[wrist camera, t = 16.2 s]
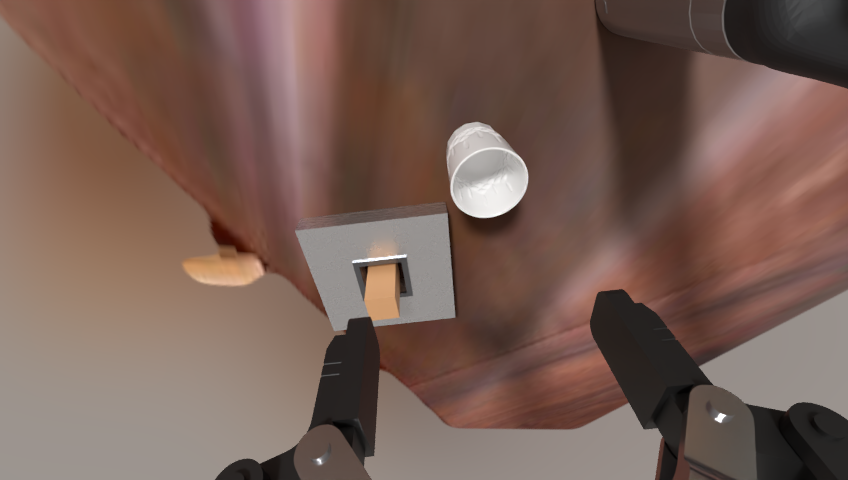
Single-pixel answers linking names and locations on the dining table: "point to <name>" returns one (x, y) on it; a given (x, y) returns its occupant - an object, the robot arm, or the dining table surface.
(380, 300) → the tan wooden block
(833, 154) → the dining table surface
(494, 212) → the white cup
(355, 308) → the slab with square hole
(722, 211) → the dining table surface
